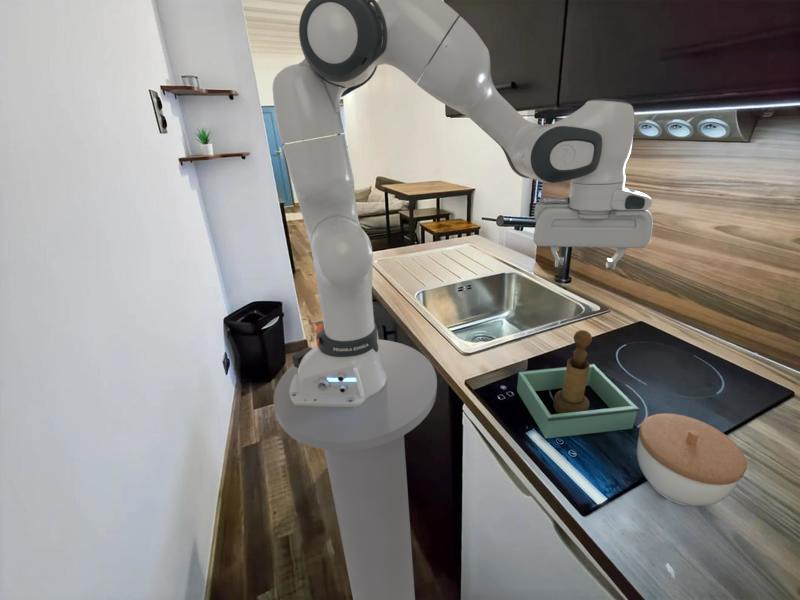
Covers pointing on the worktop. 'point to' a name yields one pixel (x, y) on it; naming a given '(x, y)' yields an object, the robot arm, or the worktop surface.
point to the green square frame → (576, 422)
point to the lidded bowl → (688, 459)
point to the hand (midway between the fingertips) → (583, 267)
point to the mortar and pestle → (575, 378)
